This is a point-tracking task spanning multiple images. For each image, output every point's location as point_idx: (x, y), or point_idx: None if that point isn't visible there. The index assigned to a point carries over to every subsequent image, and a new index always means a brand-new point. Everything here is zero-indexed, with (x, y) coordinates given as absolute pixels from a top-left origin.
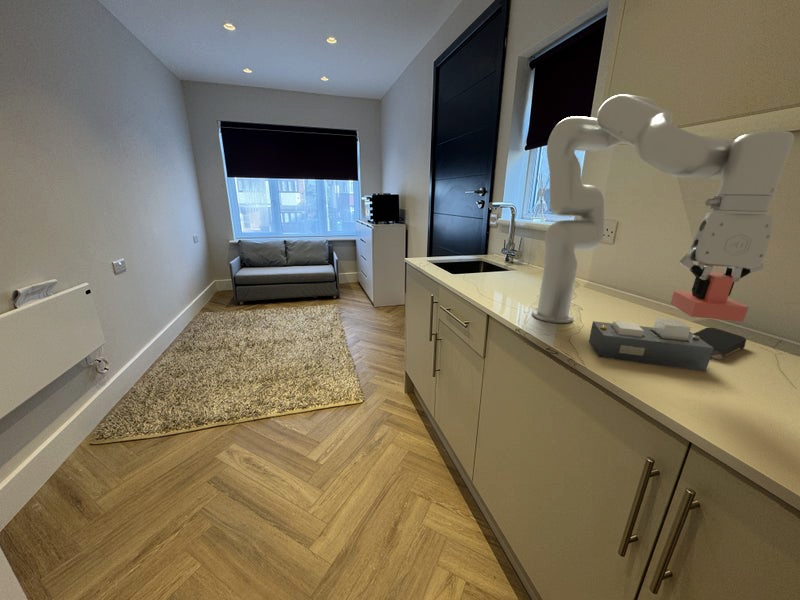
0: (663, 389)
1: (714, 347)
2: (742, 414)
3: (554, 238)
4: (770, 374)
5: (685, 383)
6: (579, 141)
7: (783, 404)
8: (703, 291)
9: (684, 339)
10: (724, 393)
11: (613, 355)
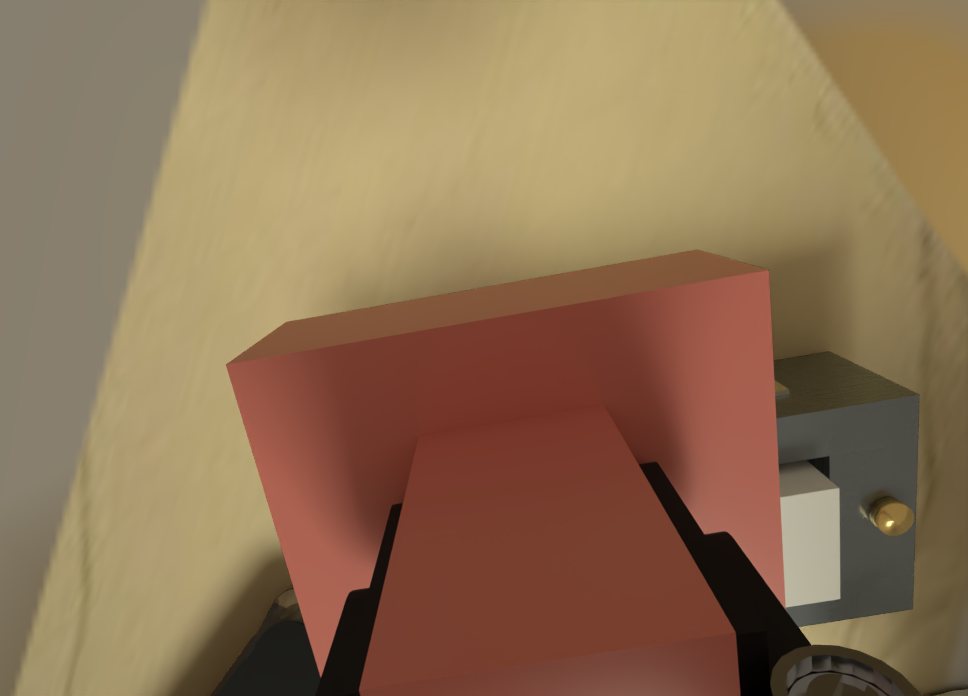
0: (617, 129)
1: (304, 636)
2: (357, 43)
3: None
4: (134, 526)
5: (503, 248)
6: None
7: (172, 237)
8: (684, 505)
9: None
10: (369, 226)
11: (777, 368)
